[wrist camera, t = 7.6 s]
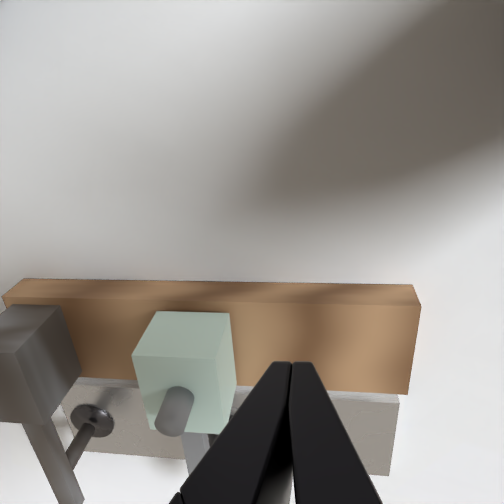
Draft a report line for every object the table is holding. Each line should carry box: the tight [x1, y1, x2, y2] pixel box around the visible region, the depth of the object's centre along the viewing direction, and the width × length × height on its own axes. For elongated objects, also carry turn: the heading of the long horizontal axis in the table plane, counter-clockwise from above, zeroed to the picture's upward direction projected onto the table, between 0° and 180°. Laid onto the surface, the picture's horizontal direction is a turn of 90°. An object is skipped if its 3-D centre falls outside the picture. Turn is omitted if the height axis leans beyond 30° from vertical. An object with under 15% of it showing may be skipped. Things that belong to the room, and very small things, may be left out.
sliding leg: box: [131, 311, 237, 475], centre depth 23 cm, size 4×14×6 cm, turn 3°
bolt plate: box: [61, 377, 400, 476], centre depth 28 cm, size 23×7×1 cm, turn 93°
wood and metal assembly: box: [0, 279, 421, 504], centre depth 24 cm, size 23×14×6 cm, turn 93°
